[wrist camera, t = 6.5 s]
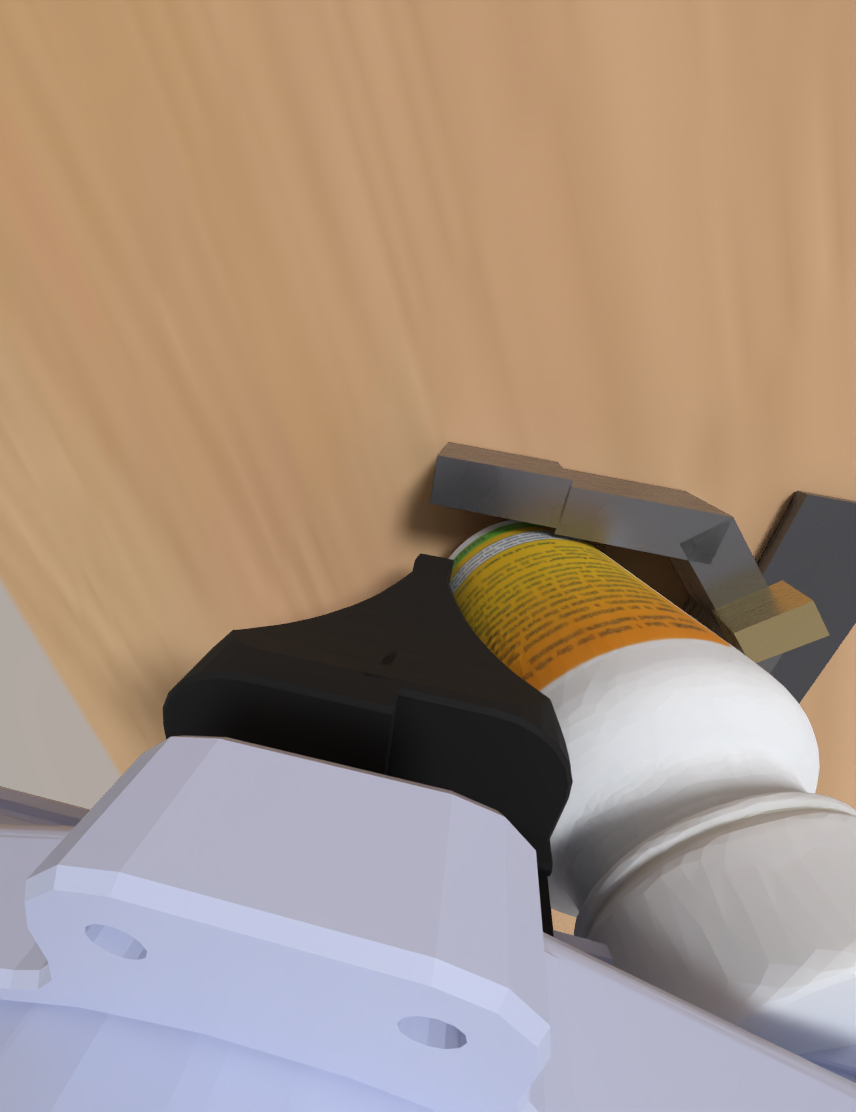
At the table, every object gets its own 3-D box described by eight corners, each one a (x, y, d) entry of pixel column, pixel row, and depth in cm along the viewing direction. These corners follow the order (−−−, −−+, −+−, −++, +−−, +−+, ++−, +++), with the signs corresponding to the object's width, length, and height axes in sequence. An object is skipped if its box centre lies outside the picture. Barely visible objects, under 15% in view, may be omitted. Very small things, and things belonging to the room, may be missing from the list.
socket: (739, 770, 15) (807, 875, 12) (405, 692, 16) (382, 770, 12) (915, 512, 11) (1094, 565, 8) (451, 428, 12) (435, 443, 8)
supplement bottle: (393, 611, 13) (446, 1160, 4) (512, 476, 11) (1022, 798, 2) (512, 689, 14) (742, 1180, 5) (625, 579, 13) (1155, 979, 4)
